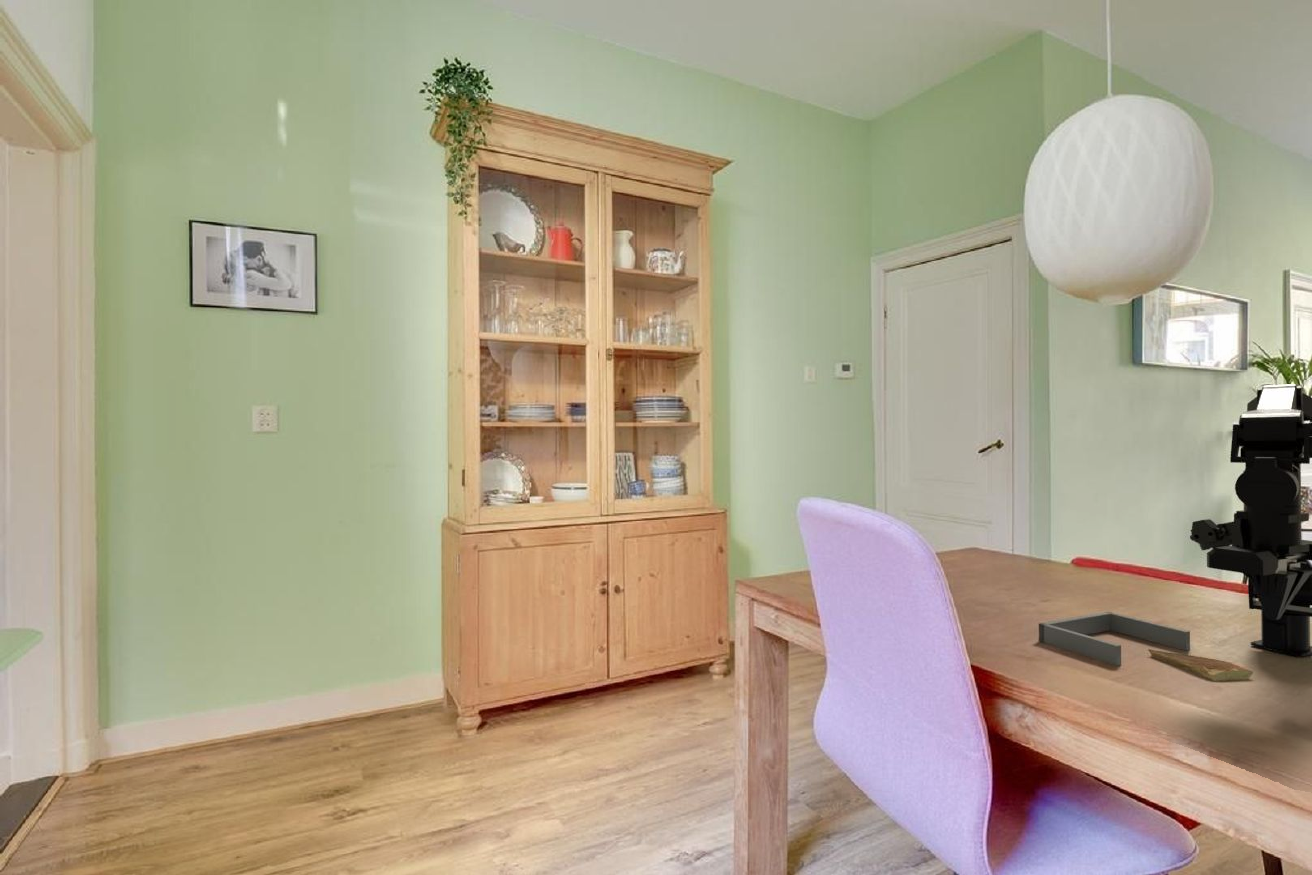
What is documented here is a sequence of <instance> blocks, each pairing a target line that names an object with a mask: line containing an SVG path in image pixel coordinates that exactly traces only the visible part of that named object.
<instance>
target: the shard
mask: <svg viewBox="0 0 1312 875" xmlns="http://www.w3.org/2000/svg"><path fill="white" fill-rule="evenodd" d="M1147 651H1148V652H1149V653H1150V655H1151V656H1150V657H1151V658H1154V659H1157V660H1159V661H1162V662H1166V663H1168V664H1171V665H1174V666H1176V667H1179V668H1182V669H1184V670H1187V671H1189V672H1192V673H1194V674H1196V675H1198V676H1201V677H1203V678H1205V679H1208V680H1211V681H1213V682H1214V681H1215V682H1216V681H1228V680H1249V679H1250V678H1251V677H1252V676H1253V673H1254V672H1253V670H1251V669H1249V668H1246V667H1243V666H1240V665H1238V664H1235V663H1232V662H1228V661H1225V660H1218V659H1213V658H1207V657H1203V656H1196V655H1189V654H1184V653H1183V654H1181V653H1174V652H1167V651H1161V650H1153V649H1149V648H1147Z"/></svg>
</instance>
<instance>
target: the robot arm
mask: <svg viewBox="0 0 1312 875" xmlns="http://www.w3.org/2000/svg"><path fill="white" fill-rule="evenodd" d="M1256 392H1257V393H1256V394H1257V395H1256V396H1255V397H1254V398H1253V399H1252V400H1250V401H1249V402H1248V403H1247V404H1246V411H1244V412H1242V413H1241V414H1240V416H1239V420H1238V421H1234V422H1233V424H1232V434H1231V435H1232V436H1231V446H1230V463H1232V464H1233V463H1237V464H1244V465H1245V468H1244V470H1243V472H1242V473H1241V474H1240V475H1239V476H1238V478H1237V479H1236V481H1235V484H1234V490H1235V494H1236V496H1237V497H1238V498H1237V499H1238V500H1239V501H1240V502H1242V503H1243V509H1242V510H1236V512H1234V513H1233V521H1228V522H1224V523H1215V521H1213V520H1212V519H1211V518H1209V519H1207V518H1206V519H1200V520H1195V521H1192V525H1191V529H1190V533H1191V535H1190V537H1189V539H1190V540H1191V541H1193V542H1195V543H1197V544H1198V545H1199V547H1200V550H1201V551H1207V550H1209V551H1208V552H1206V567H1207V568H1208V569H1214V570H1215V569H1216V570H1220V571H1221V570H1222V571H1227V572H1233V573H1240V574H1242V575H1244V576H1245V577H1246V578H1247V587H1248V588H1247V589H1248V590H1247V593H1248V609H1249V610H1259V611H1261V612H1260V616H1261V617H1260V618H1261V620H1260V621H1261V623H1260V624H1261V625H1260V627H1261V629H1260V630H1261V639H1259V640H1253V641H1250V645H1251V646H1254V647H1256V648H1257V647H1258V648H1261V649H1265V650H1270V651H1274V652H1278V653H1282V654H1287V655H1290V656H1296V657H1306V656H1309V655H1312V645H1311V618H1312V607H1311V606H1312V563H1311V561H1312V540H1309V539H1308V540H1307V539H1306V540H1305V539H1303V538H1302V522H1309V521H1310V513H1308V512H1307V513H1306V512H1302V472H1301V471H1302V468H1301V466H1302V465H1304V464H1305V465H1307V464H1308V465H1309V464H1310V463H1311V459H1312V396H1310V395H1308V394H1306V393H1304V392H1303V385H1298V384H1296V383H1295V384H1294V383H1292V384H1276V385H1275V384H1272V385H1271V384H1270V385H1263V386H1262V387H1257V391H1256ZM1239 452H1240V454H1239Z"/></svg>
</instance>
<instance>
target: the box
mask: <svg viewBox="0 0 1312 875" xmlns="http://www.w3.org/2000/svg"><path fill="white" fill-rule="evenodd" d="M1109 631H1112V632H1116V633H1120V634H1123V635H1128V636H1130V637H1134V638H1139V639H1142V640H1146V641H1149V642H1154V643H1157V644H1161V645H1164V646H1167V647H1171V648H1175V649H1180V650H1183V651H1190V650H1191V631H1190V630H1186V629H1181V628H1178V627H1174V626H1169V625H1164V624H1161V623H1157V622H1152V621H1148V620H1145V619H1140V618H1136V617H1132V616H1129V615H1124V614H1119V613H1115V612H1111V611H1106V612H1105V611H1104V612H1100V613H1099V612H1098V613H1093V614H1087V615H1081V616H1074V617H1068V618H1064V619H1059V620H1058V619H1056V620H1052V621H1051V620H1050V621H1046V622H1041V623H1040V622H1039V623H1038V641H1039V642H1041V643H1044V644H1047V645H1050V646H1053V647H1057V648H1061V649H1063V650H1067V651H1070V652H1072V653H1075V654H1079V655H1081V656H1085V657H1088V658H1092V659H1094V660H1098V661H1101V662H1105V663H1107V664H1110V665H1114V666H1121V665H1122V645H1121V644H1118V643H1115V642H1113V641H1109V640H1104V639H1100V638H1097V637H1093V636H1090V635H1093V634H1098V633H1104V632H1109Z"/></svg>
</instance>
